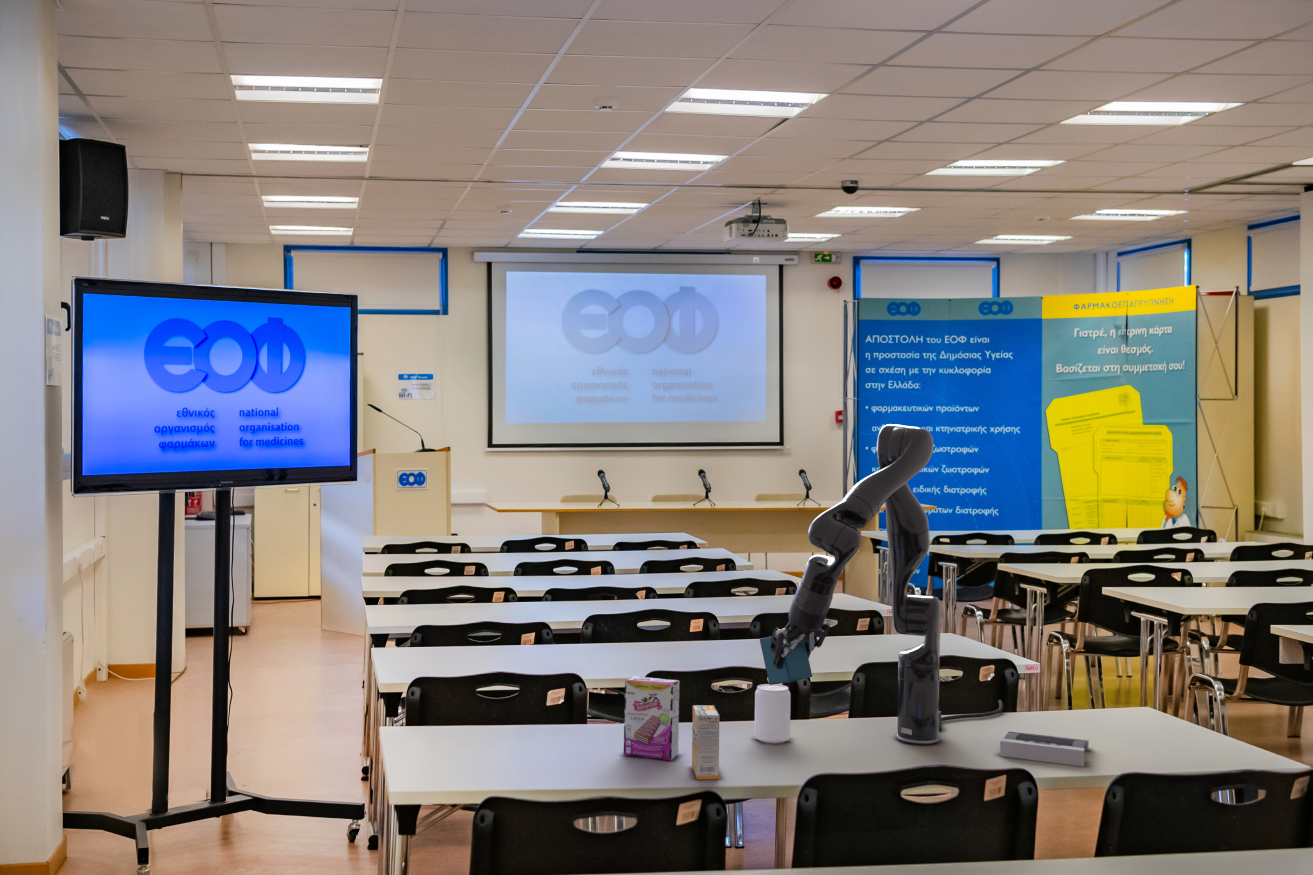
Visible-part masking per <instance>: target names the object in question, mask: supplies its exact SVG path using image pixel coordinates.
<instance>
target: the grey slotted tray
mask: <svg viewBox="0 0 1313 875" xmlns="http://www.w3.org/2000/svg"><path fill="white" fill-rule="evenodd" d="M1089 741H1090V740H1088V739H1083V738H1082V739H1081V738H1072V737H1066V736H1065V737H1064V736H1054V735H1047V734H1040V733H1039V734H1038V733H1030V732H1022V731H1012V730H1008V731H1007V733H1005V736H1004V737H1003V738H1000V740H999V756H1000V757H1006V758H1014V759H1020V760H1027V761H1028V760H1030V761H1037V762H1044V763H1054V764H1061V765H1069V766H1077V767H1085V754H1086V751H1089V749H1090V748H1089V745H1090V744H1089V743H1090V742H1089Z"/></svg>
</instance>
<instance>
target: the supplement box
mask: <svg viewBox="0 0 1313 875" xmlns="http://www.w3.org/2000/svg"><path fill="white" fill-rule="evenodd" d="M691 727H692V729H691V731H692V733H691V738H692V739H691V768H692V770H693V772H694V775H695V778H696V780H719V778H720V713H719V712H718V710H717V708H716V707H715V705H713V704H712V705H702V704H701V705H700V704H698V705H697V704H696V705H695V704H694V705H692V726H691Z"/></svg>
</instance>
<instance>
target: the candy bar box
mask: <svg viewBox="0 0 1313 875" xmlns="http://www.w3.org/2000/svg"><path fill="white" fill-rule="evenodd" d="M680 684H681V682H680V680H678V679H666V678H658V677H647V676H636V675H632V676H630V677H628V678H626V679H625V680H624V714H623V715H624V716H623V723H624V725H623V755H624V756H630V757H639V758H647V759H655V760H663V761H673V760H674V759H675V758H677V756H678V755H679V724H680V723H679V722H680V686H681V685H680Z"/></svg>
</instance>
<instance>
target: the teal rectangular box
mask: <svg viewBox="0 0 1313 875" xmlns="http://www.w3.org/2000/svg"><path fill="white" fill-rule="evenodd" d="M771 639H772V635H771V636H766V637H762V638H759V644H760V648H761V653H762V657H763V662H764V666H765V672H766V675H767V680H768V684H769V685H773V684H779V685H782V684H787V683H793V682H797V681H801V680H805V679H810V678H813V673H812V668H811V664H810V660H809V659H810V658H809V659H808V654H807V650H806V645H805V642H804V643H802V642H801V643H799V644H797V645H796V646H795V648H794V649H793V650H790V651H789V652H788V653H787V655H786V658H785V660H784V663H783V666H782V669H779V670H778V669H777V668H776V667H775V666H774V665H773V659H774V656H775V654H774V653H773V652H772V651H771V650H770V648H769V647H770V643H771ZM787 640H788V642H789V643H790V644H791V643H792V642H791V641H790V640H789V638H787ZM785 648H786V646H785V645H784V646H783V647H782V649H783V650H784V649H785Z"/></svg>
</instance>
